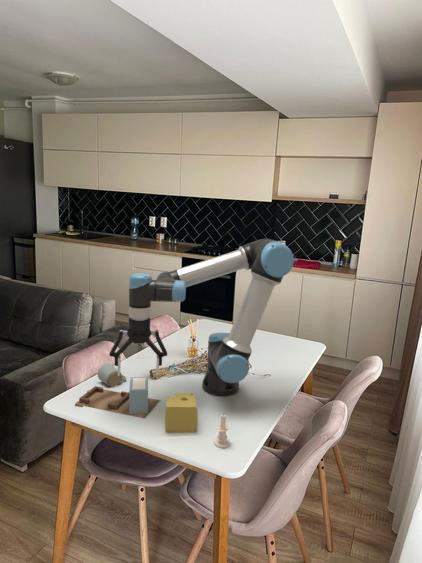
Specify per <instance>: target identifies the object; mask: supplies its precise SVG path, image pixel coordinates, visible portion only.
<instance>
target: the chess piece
mask: <svg viewBox="0 0 422 563" xmlns="http://www.w3.org/2000/svg"><path fill="white" fill-rule="evenodd" d="M226 422H227V416H226V414H225V413H223V414H221V416H220V422H219V425H217V426H216V430H217V431H218V434H217V436H216V437H217V438H215V439H214V440H213V444H214V446H215V447H216V448H220V449H225V448H228V447H229V446H230V445H231V441H230V439H228V435H227V432H228V431H229V430H230V428H229V427H228V426H227V425H226Z"/></svg>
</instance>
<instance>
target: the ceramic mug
mask: <svg viewBox="0 0 422 563" xmlns="http://www.w3.org/2000/svg"><path fill="white" fill-rule="evenodd" d="M97 377H98V379H99V381H101V382H102V383H103V384H105V385H106V386H108V387H110V388H112V387H116V386H118V385H119V384H121V382H122V383H125V382H126V381H127V376H125V375H123V374H122V372H121V371H120V376H118V368H117V367H116V366H115V365H114V364H111V363H104V364H103V365H101V366H100V367H99V369H98V372H97Z"/></svg>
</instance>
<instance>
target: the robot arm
mask: <svg viewBox="0 0 422 563" xmlns="http://www.w3.org/2000/svg"><path fill="white" fill-rule="evenodd" d="M294 260H295V259H294V254H293V252H292V250H291V248H289V246H287V245H286V244H285V243H283V242H279V241H277V240H274V239H271V238H262V239H258V240H255V241H252V242H249V243H246V244H243V245H241V246H239V247H238V249H236V250H234V251H230V252H227V253H224V254H221V255H218V256H215V257H211V258H209V259H206V260H202V261H199V262H196V263H193V264H190V265H186V266H184V267H180V268H178V269H175V270H171V271H161V272H160V273H159V274H157V276H156V279H153V277H152V275H151V274H149V273H143V272H138V273H137V272H136V273H133V274H131V275H130V276H129V285H128V317H129V318H128V329H127V330H123V329H119V332H118V337H117V338H116V340H115V342H114V344H113V346H112V347H111V350H110V351H109V357H113V358H114V367H117V369H118V376H120V372H121V367H122V366H121V357H122V356H121V355H122V354H123V353H124V351H126V349H127V348H128V347H129V346H131V344H132V343H134V344H145V343H146V345H147V346H148V347H149V348H151V350H152V351H153V352H154V353H155V354H156V366H155V368H156V370H155V374H156V376H159V371H160V367H162V365H163V358H164V357H167V356H168V351H167V349H166V346H165V345H164V343H163V340H162V338H161V336H160V333H159V332H160V330H159V329H155V330H151V315H152V314H151V312H152V311H151V308H152V303H151V302H154V303H155V302H164V303H165V302H167V303H179V302H181V303H182V302H184V301H185V300H186V294H187V292H186V291H187V288H188V287H191V286H194V285H197V284H201V283H204V282H206V281H209V280H212V279H216V278H219V277H222V276H225V275H228V274H231V273H235V272H237V271H241V270H246V271H250V273H251V277H252V278H251V280H250V283H249V285H248V288H247V290H246V293H245V295H244V298H243V299H242V303H241V305H240V307H239V309H238V312H237V315H236V317H235V320H234V322H233V325H232V328H231V330H230V332H213V333H211V334H210V335H209V337H208V341H207V343H208V344H207V345H208V346H207V365H206V367H207V368H206V371H205V374H204V376H203V379H202V381H201V382H202V386H201V387H202V389H203V391H204V392H205V393H207V394H210V395H213V396H216V397H217V396H220V397H224V396H225V397H226V396H231V395H235V394H236V393H238V392H239V389H240V382H241V381H243V380H244V379H246V377H247V376H248V373H249V371H250V364H249V359H250V357H251V355H252V352H253V350H252V348H251V344H252V342H253V340H254V336H255V335H256V332H257V329H258V327H259V325H260V322H261V320H262V317H263V315H264V313H265V310H266V309H267V308H266V307H267V305H268V303H269V302H270V301H269V300H270V298H271V296H272V293H273V291H274V288H275V286H278V285H280V284H281V283H282V280H283V278H284V276H286V275H288V274H289V273H290V272H291V271H292V269H293V266H294ZM126 336H127V337H128V339H127V340H126V341H125V342H123V343H124V344H122V346H120V347H119V345H120V343H121V341H122V339H123V338H125V337H126ZM151 336H153V338H155V339H156V340H155V341H156V342H157V344H158V346H159V347H160V349H159V348H158V347H157V346H156V345H155V343H154V342H153V341H152V340H151V338H150V337H151ZM118 347H119V349H118ZM117 349H118V350H117Z"/></svg>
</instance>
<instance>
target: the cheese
mask: <svg viewBox="0 0 422 563" xmlns="http://www.w3.org/2000/svg"><path fill="white" fill-rule="evenodd" d="M165 401H166V402H165V403H166V404H165V414H164V424H165V425H164V428H165V432H166V433H188V432H189V433H196V431H197V427H198V421H199V420H198V418H199V417H198V416H199V415H198V414H199V413H198V407H197V401H196V393H195V392H193V393H192V392H177V393H175V394H174V395H173V396H168V397H166V400H165Z"/></svg>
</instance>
